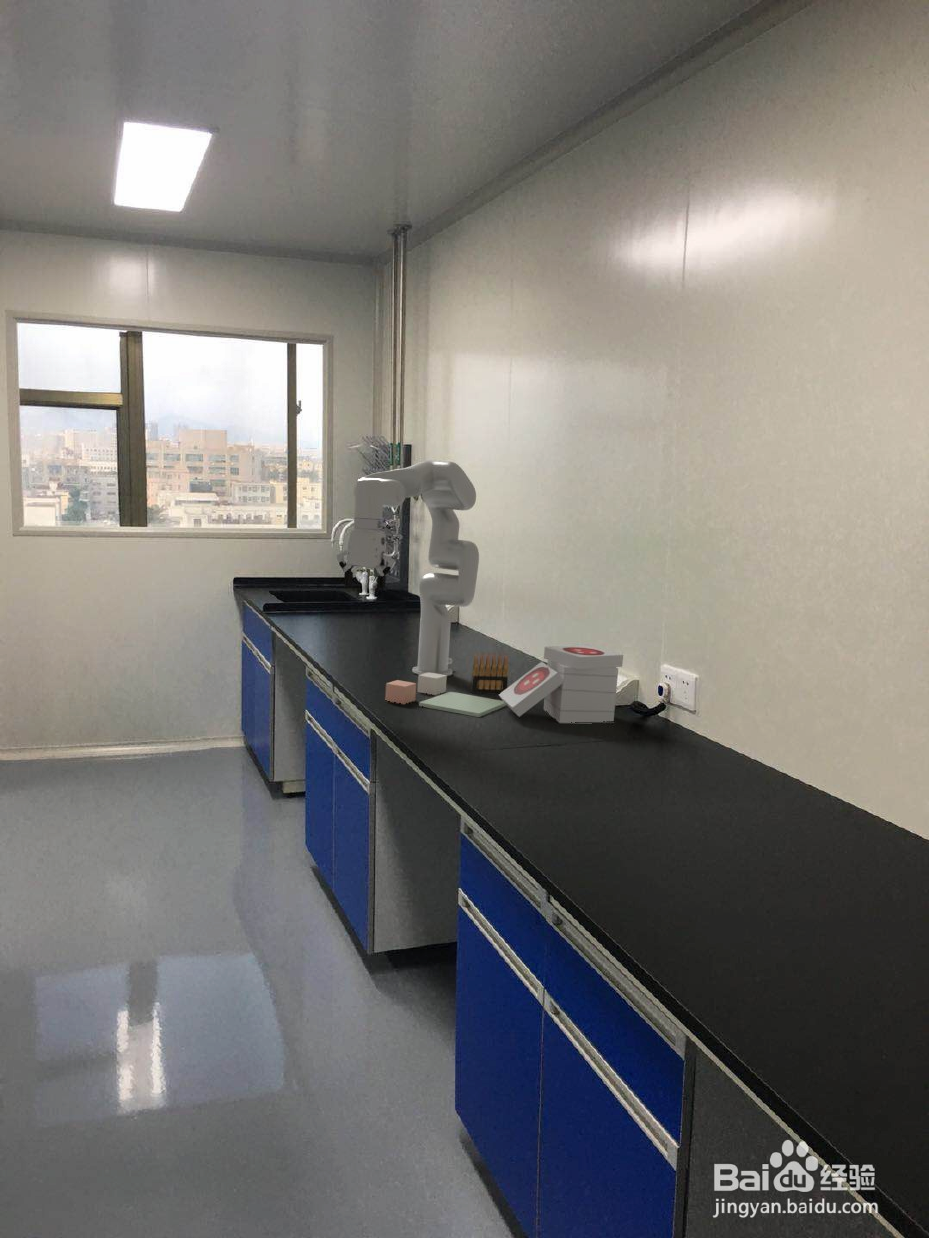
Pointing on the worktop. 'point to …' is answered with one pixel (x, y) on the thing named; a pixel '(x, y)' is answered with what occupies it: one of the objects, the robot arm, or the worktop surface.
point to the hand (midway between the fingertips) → (364, 588)
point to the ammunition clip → (489, 675)
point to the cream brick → (432, 683)
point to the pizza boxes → (569, 684)
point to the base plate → (463, 704)
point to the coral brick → (400, 691)
